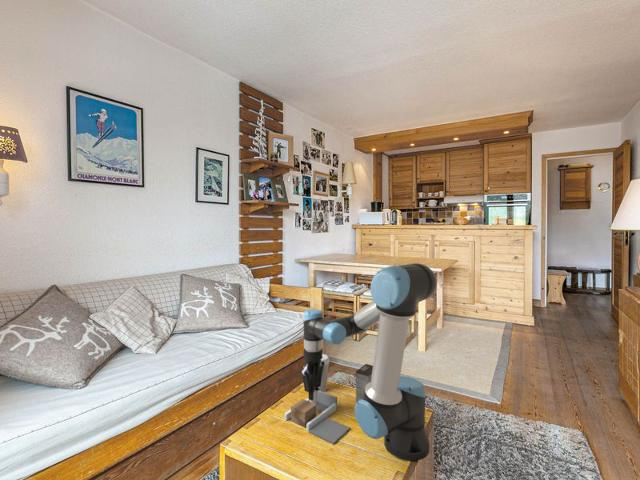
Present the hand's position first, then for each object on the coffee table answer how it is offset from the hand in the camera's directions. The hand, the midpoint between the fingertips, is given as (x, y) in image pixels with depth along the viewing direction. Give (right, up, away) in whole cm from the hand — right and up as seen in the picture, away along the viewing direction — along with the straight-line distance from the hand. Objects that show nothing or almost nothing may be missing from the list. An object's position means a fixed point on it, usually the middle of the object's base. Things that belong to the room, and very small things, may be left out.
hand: (312, 406), depth 138 cm
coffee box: (+23, -3, +5) cm, 23 cm away
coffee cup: (+3, -2, +20) cm, 21 cm away
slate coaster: (+6, -4, -11) cm, 13 cm away
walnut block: (-3, -3, -5) cm, 7 cm away
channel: (-1, -3, -1) cm, 3 cm away
